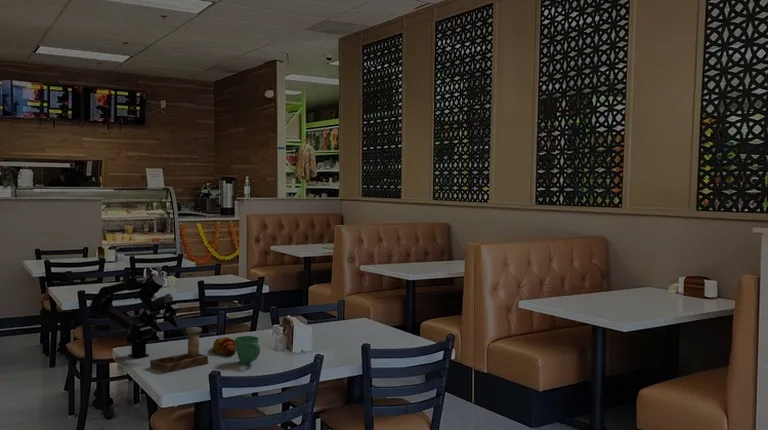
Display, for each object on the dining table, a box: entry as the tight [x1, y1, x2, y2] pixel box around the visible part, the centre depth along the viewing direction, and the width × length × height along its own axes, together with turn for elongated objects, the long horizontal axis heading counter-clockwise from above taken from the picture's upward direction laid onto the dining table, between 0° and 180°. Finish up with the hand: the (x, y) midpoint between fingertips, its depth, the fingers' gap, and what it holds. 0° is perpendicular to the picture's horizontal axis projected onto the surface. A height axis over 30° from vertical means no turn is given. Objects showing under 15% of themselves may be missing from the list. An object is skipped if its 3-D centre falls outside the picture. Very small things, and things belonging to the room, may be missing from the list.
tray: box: [149, 352, 209, 374], centre depth 269 cm, size 20×11×3 cm, turn 140°
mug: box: [234, 335, 261, 365], centre depth 275 cm, size 15×10×10 cm
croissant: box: [212, 337, 237, 356], centre depth 294 cm, size 21×10×8 cm, turn 33°
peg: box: [185, 326, 203, 359], centre depth 274 cm, size 6×6×13 cm
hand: (169, 329), depth 274 cm, fingers open, 9 cm apart
